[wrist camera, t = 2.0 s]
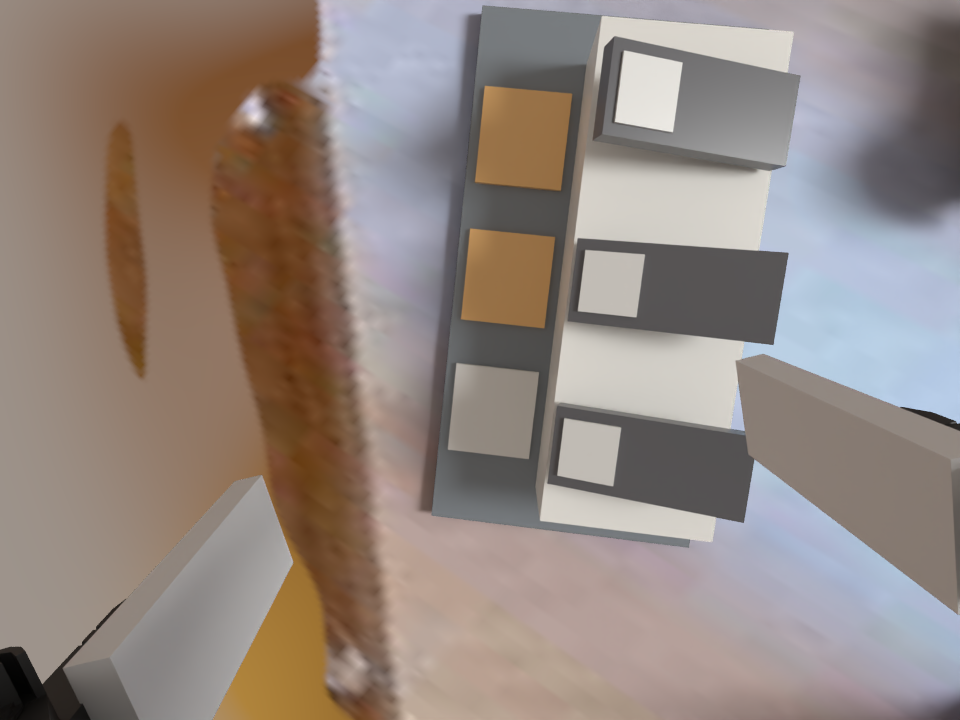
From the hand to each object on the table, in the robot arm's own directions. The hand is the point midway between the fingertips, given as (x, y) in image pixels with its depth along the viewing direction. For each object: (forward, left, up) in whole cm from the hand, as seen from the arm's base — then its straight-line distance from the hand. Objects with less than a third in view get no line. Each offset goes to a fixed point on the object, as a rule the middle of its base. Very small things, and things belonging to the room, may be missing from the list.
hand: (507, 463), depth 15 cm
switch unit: (-5, -6, -24) cm, 25 cm away
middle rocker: (-8, -6, -15) cm, 17 cm away
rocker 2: (-8, +3, -15) cm, 17 cm away
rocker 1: (-8, -15, -15) cm, 22 cm away
